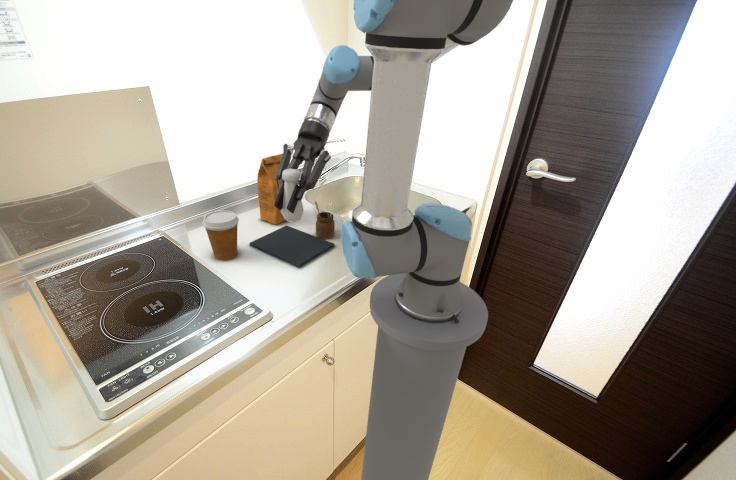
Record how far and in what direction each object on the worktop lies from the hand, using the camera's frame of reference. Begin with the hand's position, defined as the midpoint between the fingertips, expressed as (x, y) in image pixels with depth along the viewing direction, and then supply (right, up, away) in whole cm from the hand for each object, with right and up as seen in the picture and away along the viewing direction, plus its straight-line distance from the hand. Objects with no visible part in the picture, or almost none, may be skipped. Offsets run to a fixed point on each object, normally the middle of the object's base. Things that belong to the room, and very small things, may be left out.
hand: (283, 209), depth 91 cm
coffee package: (-7, +2, +37) cm, 37 cm away
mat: (0, -8, +20) cm, 21 cm away
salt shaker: (+2, -2, +5) cm, 6 cm away
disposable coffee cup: (-19, -11, +14) cm, 26 cm away
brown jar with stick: (+9, -5, +27) cm, 28 cm away
